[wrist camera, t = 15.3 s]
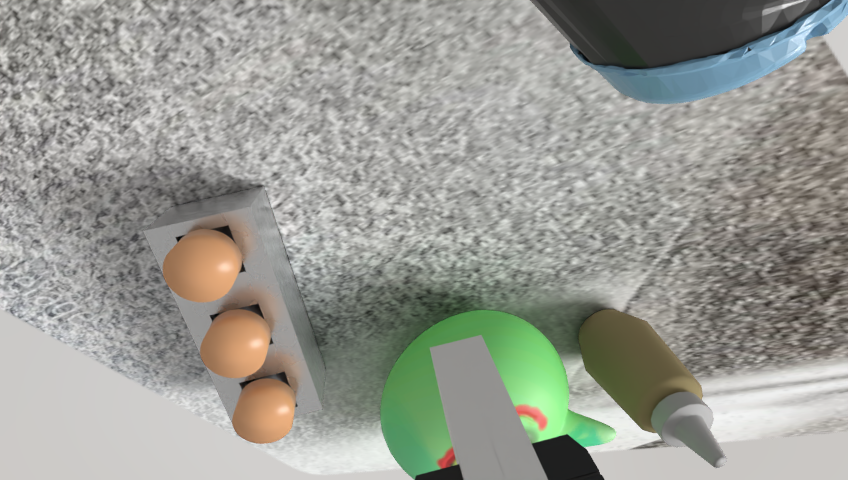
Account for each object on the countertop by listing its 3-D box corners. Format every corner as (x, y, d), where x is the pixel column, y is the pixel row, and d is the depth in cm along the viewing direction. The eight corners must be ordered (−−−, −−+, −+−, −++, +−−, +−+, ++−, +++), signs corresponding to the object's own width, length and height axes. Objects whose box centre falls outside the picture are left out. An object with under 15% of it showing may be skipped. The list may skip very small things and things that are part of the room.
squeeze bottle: (584, 373, 54) (688, 516, 37) (555, 324, 51) (654, 456, 34) (647, 337, 53) (780, 466, 37) (621, 285, 50) (755, 401, 34)
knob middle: (219, 282, 43) (190, 334, 35) (271, 270, 43) (254, 318, 35) (237, 326, 44) (213, 384, 37) (287, 314, 45) (274, 369, 37)
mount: (171, 206, 40) (143, 231, 35) (264, 185, 41) (250, 206, 35) (249, 387, 48) (235, 431, 43) (325, 368, 49) (322, 409, 43)
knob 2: (245, 345, 45) (223, 406, 38) (294, 333, 46) (282, 391, 38) (261, 384, 47) (243, 449, 40) (308, 372, 48) (299, 435, 40)
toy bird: (476, 253, 46) (528, 337, 33) (569, 352, 52) (644, 456, 39) (345, 365, 49) (342, 486, 35) (448, 447, 55) (479, 575, 42)
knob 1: (189, 211, 40) (151, 250, 32) (246, 199, 40) (220, 234, 32) (210, 261, 42) (178, 309, 34) (264, 249, 42) (244, 293, 34)
